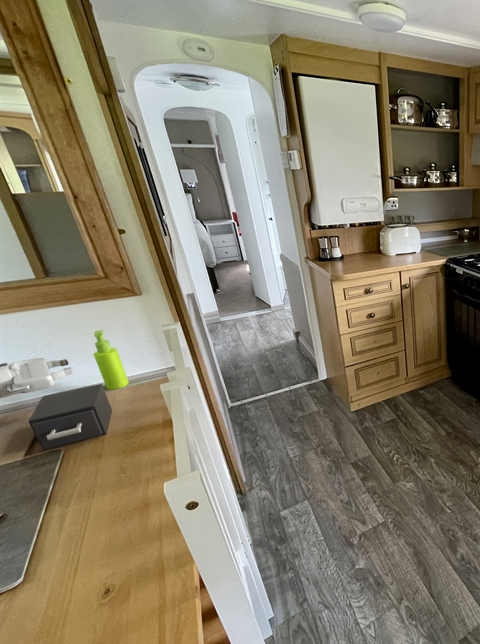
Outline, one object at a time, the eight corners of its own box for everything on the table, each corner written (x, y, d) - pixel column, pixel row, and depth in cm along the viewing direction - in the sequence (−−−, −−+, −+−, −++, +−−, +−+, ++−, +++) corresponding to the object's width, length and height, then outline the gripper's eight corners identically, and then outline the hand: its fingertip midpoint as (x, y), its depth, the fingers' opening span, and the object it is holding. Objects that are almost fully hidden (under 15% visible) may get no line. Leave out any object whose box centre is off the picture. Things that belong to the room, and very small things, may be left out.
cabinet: (106, 434, 107) (94, 405, 103) (43, 451, 100) (28, 420, 97) (112, 410, 118) (101, 383, 114) (56, 424, 111) (42, 396, 107)
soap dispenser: (128, 378, 137) (110, 327, 129) (128, 386, 132) (109, 333, 124) (107, 383, 133) (87, 331, 126) (106, 391, 128) (85, 337, 121)
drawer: (99, 442, 102) (89, 418, 100) (39, 458, 96) (27, 433, 93) (108, 412, 116) (99, 390, 113) (55, 424, 109) (45, 401, 106)
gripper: (2, 383, 104) (71, 366, 114) (-1, 362, 116) (61, 348, 126) (12, 403, 107) (79, 384, 117) (8, 380, 119) (69, 365, 129)
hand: (70, 365), depth 122 cm, fingers open, 8 cm apart
